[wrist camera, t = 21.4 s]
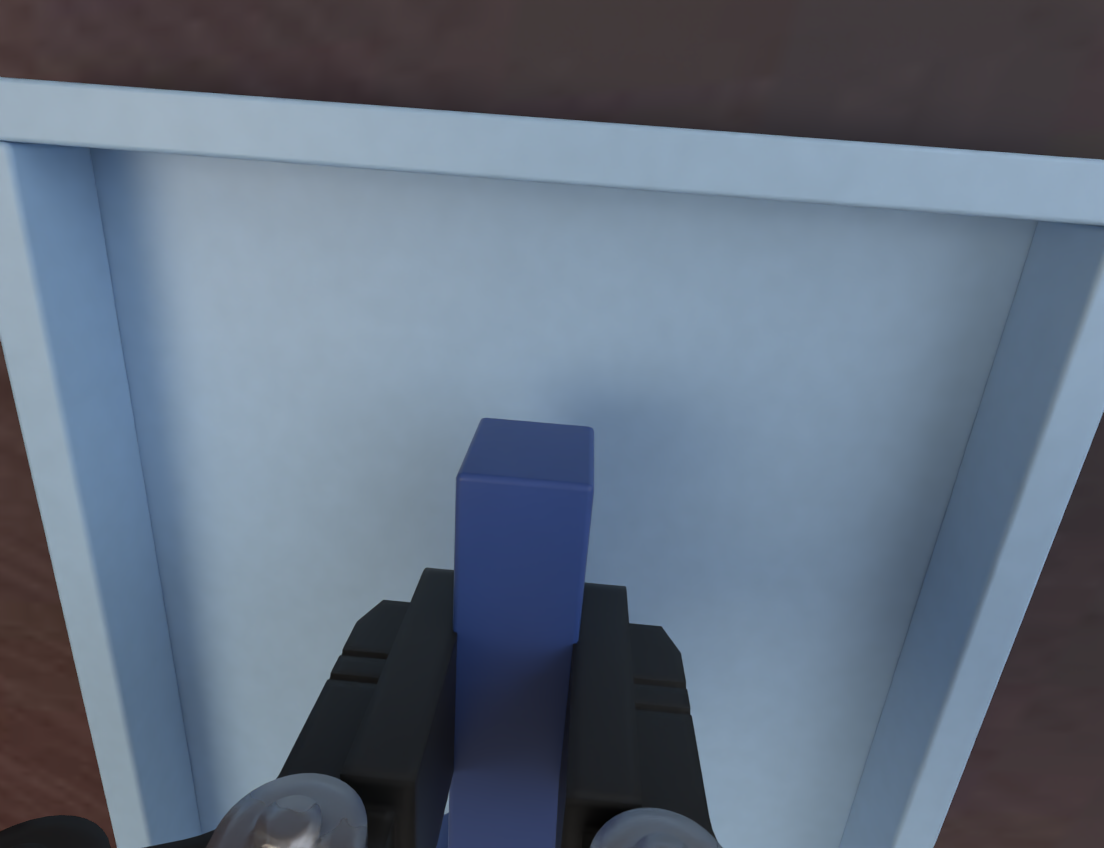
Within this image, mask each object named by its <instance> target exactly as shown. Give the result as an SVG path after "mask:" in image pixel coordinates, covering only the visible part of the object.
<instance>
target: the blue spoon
mask: <svg viewBox="0 0 1104 848" xmlns="http://www.w3.org/2000/svg"><path fill="white" fill-rule="evenodd" d="M593 497H594V430H593V428H591V427H589V426H577V425H565V424H554V423H542V422H531V421H519V420H507V419H496V418H482V419H481V420H480V422H479V425H478V427H477V429H476V432H475V434H474V436H473V439H472V441H471V443H470V446H469V448H468V450H467V453H466V455H465V457H464V460H463V462H462V464H461V467H460V469H459V471H458V474H457V476H456V494H455V541H454V588H453V631H454V632H456V633H457V659H456V697H455V736H454V772H453V777H452V781H451V785H450V790H449V812H448V813H446V814H444V816H443V821H442V825H441V829H440V834H439V838H438V843H437V847H436V848H555V842H556V824H557V807H558V789H559V777H560V767H561V757H562V747H563V737H564V728H565V718H566V708H567V698H568V688H569V678H570V669H571V659H572V649H573V644H576V643H577V642H578V641H579V633H580V623H581V613H582V604H583V594H584V584H585V575H586V565H587V555H588V546H589V536H590V526H591V517H592V507H593Z"/></svg>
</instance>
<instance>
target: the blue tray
mask: <svg viewBox="0 0 1104 848" xmlns="http://www.w3.org/2000/svg"><path fill="white" fill-rule="evenodd" d="M0 339H1V344H2V348H3V353H4V357H5V361H6V366H7V370H8V374H9V379H10V383H11V387H12V392H13V396H14V400H15V405H16V409H17V414H18V418H19V422H20V427H21V431H22V435H23V440H24V444H25V448H26V453H27V457H28V461H29V466H30V470H31V474H32V479H33V483H34V488H35V492H36V496H37V501H38V505H39V509H40V514H41V518H42V522H43V527H44V531H45V535H46V540H47V544H48V549H49V553H50V557H51V562H52V566H53V570H54V575H55V579H56V583H57V588H58V592H59V596H60V601H61V605H62V609H63V614H64V618H65V623H66V627H67V631H68V636H69V640H70V644H71V649H72V653H73V657H74V662H75V666H76V670H77V675H78V679H79V684H80V688H81V692H82V697H83V701H84V705H85V710H86V714H87V718H88V723H89V727H90V731H91V736H92V740H93V744H94V749H95V753H96V758H97V762H98V766H99V771H100V775H101V779H102V784H103V788H104V792H105V797H106V801H107V805H108V810H109V814H110V818H111V823H112V827H113V832H114V836H115V840H116V845H117V848H143V847H148V846H153V845H159V844H164V843H169V842H174V841H179V840H184V839H188V838H192V837H195V836H199V835H202V834H204V833H207V832H210V831H212V830H215V829H216V828H217V826H218V825H219V823H220V821H221V820H222V818H223V817H224V816H225V815H226V814H227V812H228V811H229V810H230V809H231V808H232V807H233V806H234V805H235V804H236V803H237V802H238V801H239V800H240V799H242V798H243V797H244V796H246V795H247V794H248V793H250V792H251V791H253V790H254V789H256V788H258V787H260V786H262V785H263V784H265V783H268V782H270V781H273V780H275V779H276V778H277V777H278V775H279V774H280V772H281V770H282V768H283V766H284V764H285V762H286V760H287V758H288V756H289V754H290V752H291V750H292V748H293V746H294V744H295V742H296V740H297V738H298V736H299V734H300V732H301V730H302V728H303V726H304V724H305V722H306V720H307V718H308V716H309V714H310V712H311V710H312V708H313V707H314V705H315V703H316V701H317V699H318V697H319V695H320V693H321V691H322V689H323V687H324V685H325V683H326V681H327V679H330V673H331V671H332V669H333V667H334V665H335V663H336V661H337V659H338V657H339V655H342V649H343V647H344V645H345V643H346V641H347V639H348V638H349V636H350V634H351V632H352V630H353V628H354V626H355V624H356V622H357V621H358V620H359V619H360V618H362V617H363V616H364V615H365V614H366V613H368V612H369V611H370V610H371V609H372V608H374V607H375V606H376V605H377V604H379V603H380V602H381V601H382V600H392V601H403V602H411V599H412V597H413V594H414V592H415V589H416V587H417V584H418V582H419V580H420V577H421V575H422V572H423V570H424V569H425V568H426V567H427V568H438V569H449V570H454V541H455V494H456V476H457V474H458V471H459V469H460V467H461V464H462V462H463V460H464V457H465V455H466V453H467V450H468V448H469V446H470V443H471V441H472V439H473V436H474V434H475V432H476V429H477V427H478V425H479V422H480V420H481V419H482V418H496V419H507V420H519V421H531V422H542V423H554V424H565V425H577V426H589V427H591V428H593V430H594V497H593V507H592V517H591V526H590V536H589V546H588V555H587V565H586V575H585V582H586V583H597V584H608V585H618V586H626V589H627V601H628V615H629V623H633V624H643V625H654V626H662V628H663V629H664V630H665V632H666V633H667V634H668V636H669V637H670V639H671V640H672V641H673V643H674V644H675V645H676V647H677V648H678V650H679V651H680V652H681V656H682V662H683V667H684V673H685V679H686V689H687V690H688V696H689V702H690V708H691V710H690V715H692V719H693V725H694V731H695V737H696V742H697V748H698V754H699V760H700V766H701V771H702V777H703V783H704V789H705V795H706V800H707V806H708V812H709V818H710V822H711V825H712V829H713V832H714V834H715V836H716V839H717V841H718V843H719V844H720V845H721V846H722V847H723V848H934V845H935V842H936V840H937V837H938V835H939V832H940V830H941V827H942V824H943V822H944V819H945V817H946V814H947V812H948V809H949V807H950V804H951V801H952V799H953V796H954V794H955V791H956V789H957V786H958V783H959V781H960V778H961V776H962V773H963V771H964V768H965V766H966V763H967V760H968V758H969V755H970V753H971V750H972V748H973V745H974V742H975V740H976V737H977V735H978V732H979V730H980V727H981V725H982V722H983V719H984V717H985V714H986V712H987V709H988V707H989V704H990V701H991V699H992V696H993V694H994V691H995V689H996V686H997V684H998V681H999V678H1000V676H1001V673H1002V671H1003V668H1004V666H1005V663H1006V660H1007V658H1008V655H1009V653H1010V650H1011V648H1012V645H1013V643H1014V640H1015V637H1016V635H1017V632H1018V630H1019V627H1020V625H1021V622H1022V619H1023V617H1024V614H1025V612H1026V609H1027V607H1028V604H1029V602H1030V599H1031V596H1032V594H1033V591H1034V589H1035V586H1036V584H1037V581H1038V578H1039V576H1040V573H1041V571H1042V568H1043V566H1044V563H1045V560H1046V558H1047V555H1048V553H1049V550H1050V548H1051V545H1052V543H1053V540H1054V537H1055V535H1056V532H1057V530H1058V527H1059V525H1060V522H1061V519H1062V517H1063V514H1064V512H1065V509H1066V507H1067V504H1068V502H1069V499H1070V496H1071V494H1072V491H1073V489H1074V486H1075V484H1076V481H1077V478H1078V476H1079V473H1080V471H1081V468H1082V466H1083V463H1084V461H1085V458H1086V455H1087V453H1088V450H1089V448H1090V445H1091V443H1092V440H1093V437H1094V435H1095V432H1096V430H1097V427H1098V425H1099V422H1100V420H1101V417H1102V414H1103V412H1104V160H1101V159H1088V158H1074V157H1061V156H1048V155H1034V154H1021V153H1007V152H994V151H981V150H967V149H954V148H941V147H927V146H914V145H901V144H887V143H874V142H861V141H847V140H834V139H821V138H807V137H794V136H781V135H767V134H754V133H741V132H727V131H714V130H701V129H687V128H674V127H661V126H647V125H634V124H621V123H607V122H594V121H580V120H567V119H554V118H540V117H527V116H514V115H500V114H487V113H474V112H460V111H447V110H434V109H420V108H407V107H394V106H380V105H367V104H354V103H340V102H327V101H314V100H300V99H287V98H274V97H260V96H247V95H234V94H220V93H207V92H194V91H180V90H167V89H153V88H140V87H127V86H113V85H100V84H87V83H73V82H60V81H47V80H33V79H20V78H7V77H0ZM448 812H449V794H448V799H447V803H446V807H445V812H444V814H446V813H448Z"/></svg>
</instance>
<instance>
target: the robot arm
mask: <svg viewBox="0 0 1104 848" xmlns="http://www.w3.org/2000/svg"><path fill="white" fill-rule="evenodd" d="M453 588H454V570H449V569H438V568H427V567H426V568H425V569H424V570H423V572H422V575H421V577H420V580H419V582H418V584H417V587H416V589H415V592H414V594H413V597H412V599H411V602H403V601H392V600H382V601H381V602H380V603H379V604H377V605H376V606H375V607H374V608H372V609H371V610H370V611H369V612H368V613H366V614H365V615H364V616H363V617H362V618H360V619H359V620H358V621H357V622H356V624H355V626H354V628H353V630H352V632H351V634H350V636H349V638H348V639H347V641H346V643H345V645H344V647H343V649H342V655H339V657H338V659H337V661H336V663H335V665H334V667H333V669H332V671H331V673H330V679H327V681H326V683H325V685H324V687H323V689H322V691H321V693H320V695H319V697H318V699H317V701H316V703H315V705H314V707H313V708H312V710H311V712H310V714H309V716H308V718H307V720H306V722H305V724H304V726H303V728H302V730H301V732H300V734H299V736H298V738H297V740H296V742H295V744H294V746H293V748H292V750H291V752H290V754H289V756H288V758H287V760H286V762H285V764H284V766H283V768H282V770H281V772H280V774H279V775H278V777H277V778H276V779H275V780H273V781H270V782H268V783H265V784H263V785H262V786H260V787H258V788H256V789H254V790H253V791H251V792H250V793H248V794H247V795H246V796H244V797H243V798H242V799H240V800H239V801H238V802H237V803H236V804H235V805H234V806H233V807H232V808H231V809H230V810H229V811H228V812H227V814H226V815H225V816H224V817H223V818H222V820H221V821H220V823H219V825H218V826H217V828H216V829H215V830H212V831H210V832H207V833H204V834H202V835H199V836H195V837H192V838H188V839H184V840H179V841H174V842H169V843H164V844H159V845H153V846H148V847H143V848H436V847H437V843H438V838H439V834H440V829H441V825H442V821H443V816H444V812H445V807H446V803H447V799H448V794H449V790H450V785H451V781H452V777H453V772H454V736H455V697H456V659H457V633H456V632H454V631H453ZM690 710H691V708H690V702H689V696H688V690H687V689H686V679H685V673H684V667H683V662H682V656H681V652H680V651H679V650H678V648H677V647H676V645H675V644H674V643H673V641H672V640H671V639H670V637H669V636H668V634H667V633H666V632H665V630H664V629H663V628H662V626H654V625H643V624H633V623H629V615H628V601H627V589H626V586H618V585H608V584H597V583H586V582H585V584H584V594H583V604H582V613H581V623H580V633H579V641H578V642H577V643H576V644H573V649H572V659H571V669H570V678H569V688H568V698H567V708H566V718H565V728H564V737H563V747H562V757H561V767H560V777H559V789H558V807H557V824H556V842H555V848H723V847H722V846H721V845H720V844H719V843H718V841H717V839H716V836H715V834H714V832H713V829H712V825H711V822H710V818H709V812H708V806H707V800H706V795H705V789H704V783H703V777H702V771H701V766H700V760H699V754H698V748H697V742H696V737H695V731H694V725H693V719H692V715H690ZM0 848H111V847H110V844H109V840H108V837H107V836H106V834H105V833H104V831H103V830H102V829H101V828H100V827H99V826H98V825H97V824H95V823H94V822H92V821H89V820H87V819H85V818H81V817H76V816H65V815H58V816H48V817H42V818H38V819H33V820H29V821H26V822H23V823H20V824H17V825H14V826H12V827H9V828H7V829H5V830H3V831H0Z"/></svg>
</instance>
